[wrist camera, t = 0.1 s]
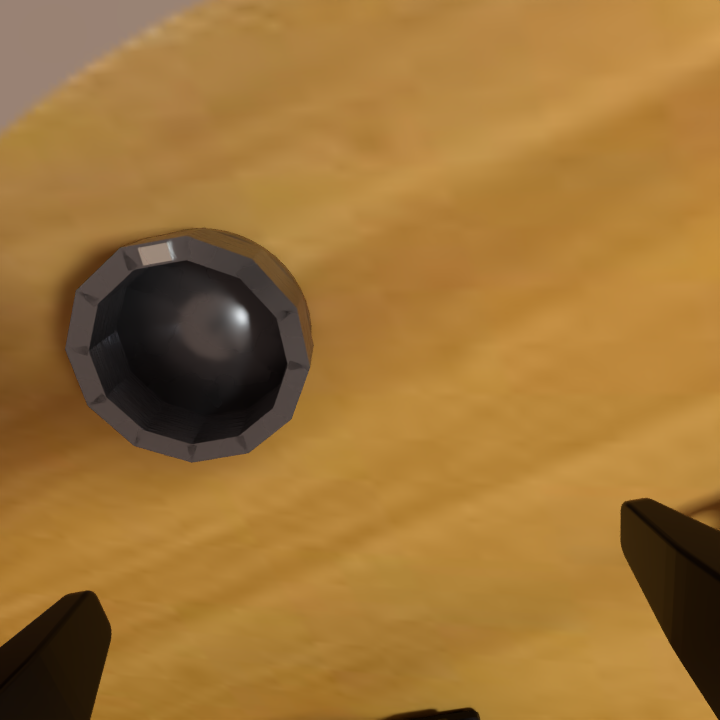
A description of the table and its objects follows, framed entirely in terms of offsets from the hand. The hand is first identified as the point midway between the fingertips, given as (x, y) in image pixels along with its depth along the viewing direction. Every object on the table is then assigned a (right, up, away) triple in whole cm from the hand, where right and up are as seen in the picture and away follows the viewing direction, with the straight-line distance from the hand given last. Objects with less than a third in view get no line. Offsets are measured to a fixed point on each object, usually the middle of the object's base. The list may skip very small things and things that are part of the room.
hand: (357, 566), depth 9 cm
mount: (-6, +5, +14) cm, 16 cm away
